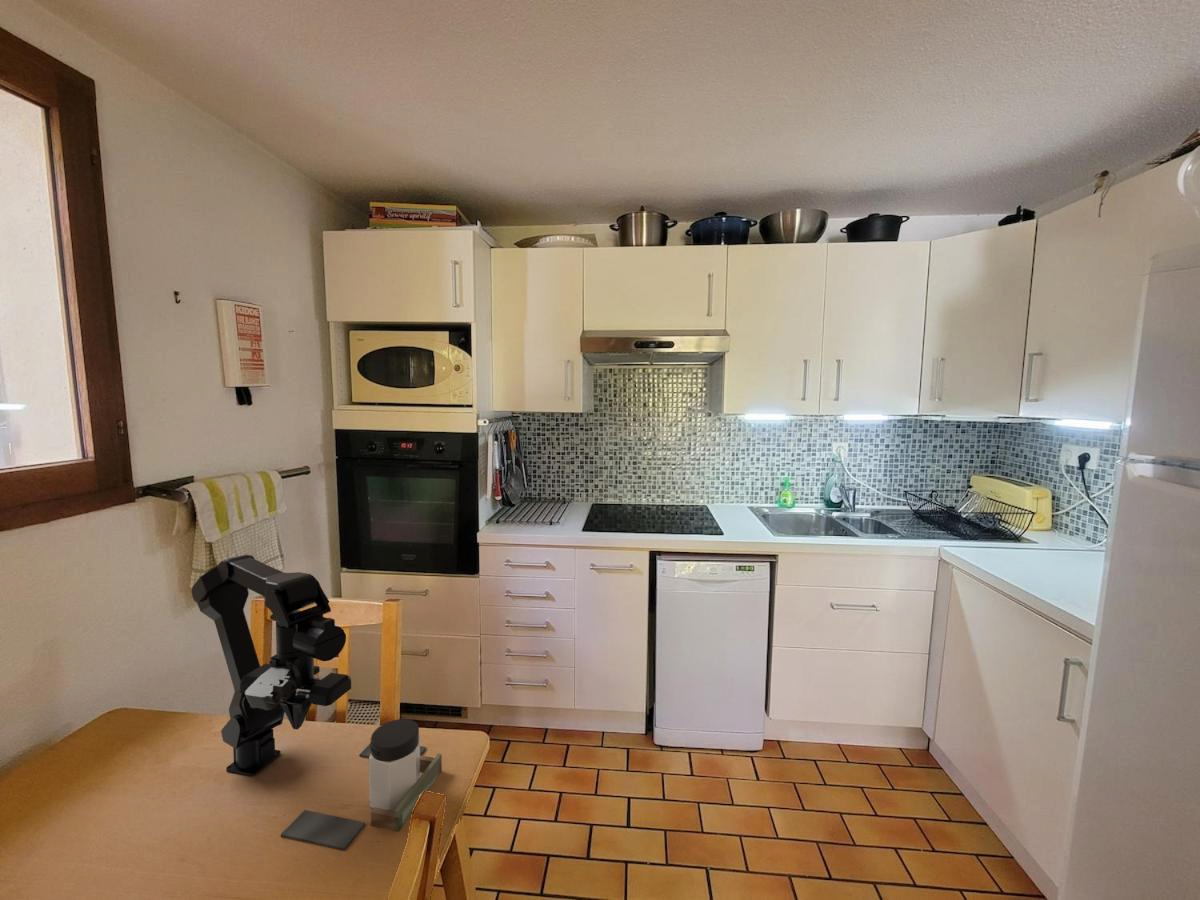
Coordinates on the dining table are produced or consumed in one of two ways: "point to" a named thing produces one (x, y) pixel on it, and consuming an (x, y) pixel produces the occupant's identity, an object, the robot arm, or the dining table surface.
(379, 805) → the jar
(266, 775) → the dining table surface
